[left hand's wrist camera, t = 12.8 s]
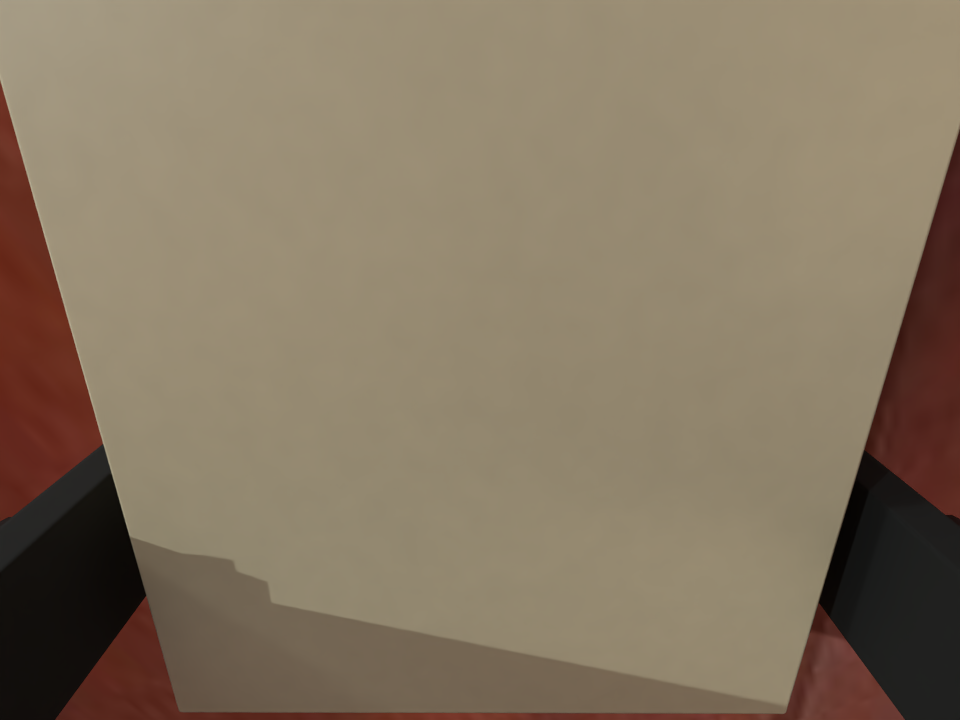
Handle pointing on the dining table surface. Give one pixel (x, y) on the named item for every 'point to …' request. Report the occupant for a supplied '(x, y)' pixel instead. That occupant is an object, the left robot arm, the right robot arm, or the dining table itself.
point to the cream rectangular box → (484, 327)
